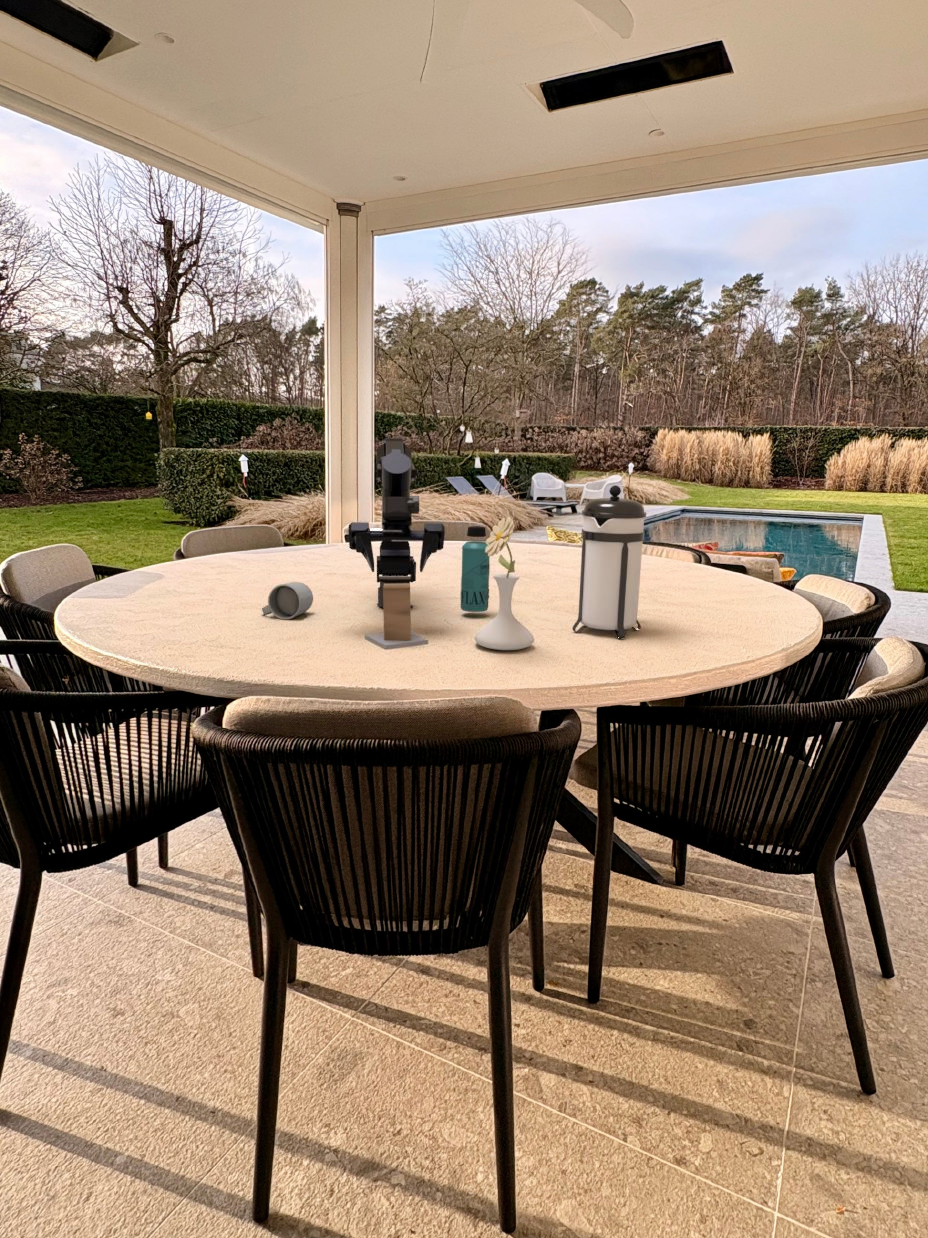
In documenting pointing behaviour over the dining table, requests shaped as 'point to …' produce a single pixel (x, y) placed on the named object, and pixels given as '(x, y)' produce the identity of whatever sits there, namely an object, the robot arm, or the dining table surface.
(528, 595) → the dining table surface
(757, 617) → the dining table surface
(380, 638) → the upper grey slab
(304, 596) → the ceramic mug
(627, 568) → the coffee press
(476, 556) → the beverage bottle
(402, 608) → the walnut post
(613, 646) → the dining table surface
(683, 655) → the dining table surface
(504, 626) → the flower in vase
